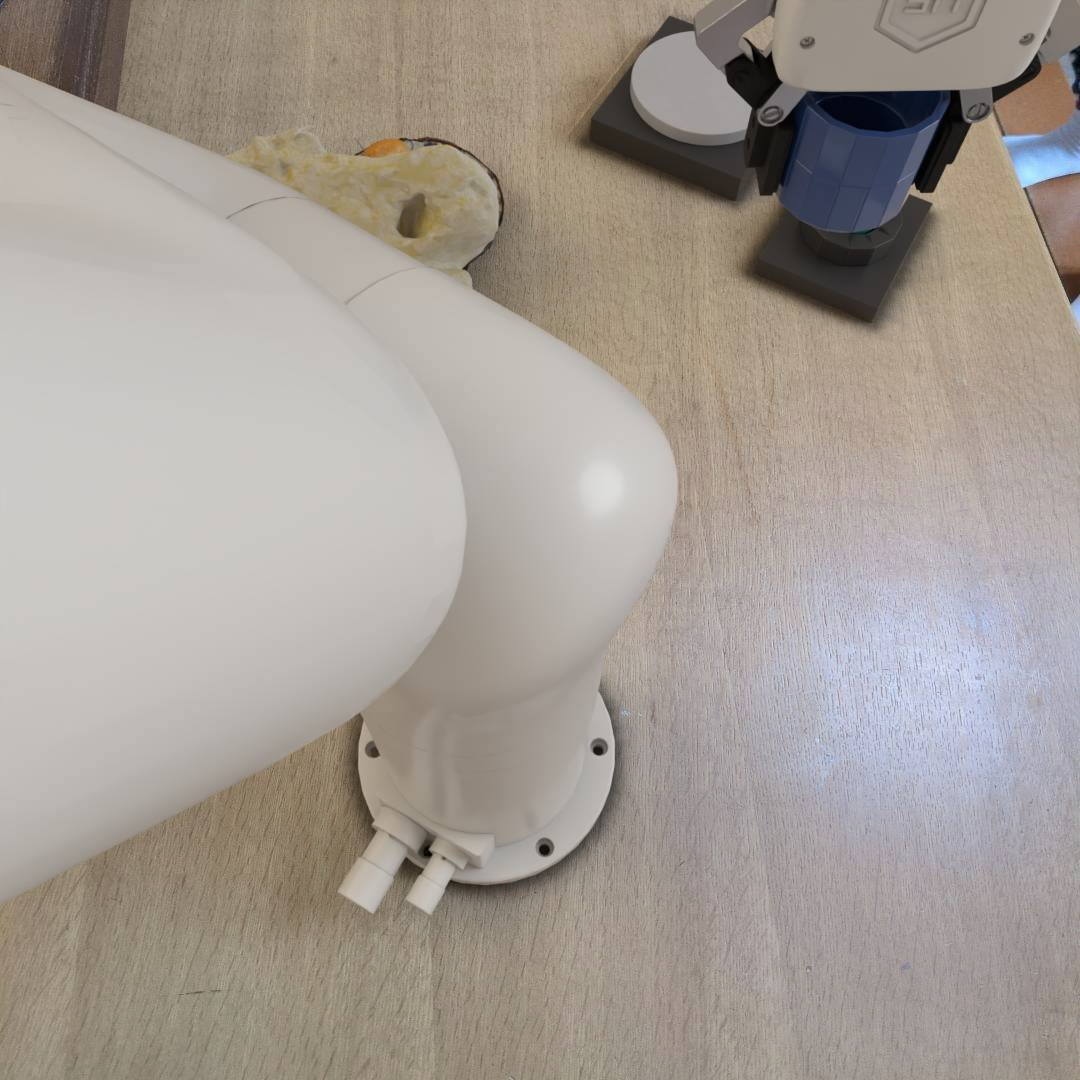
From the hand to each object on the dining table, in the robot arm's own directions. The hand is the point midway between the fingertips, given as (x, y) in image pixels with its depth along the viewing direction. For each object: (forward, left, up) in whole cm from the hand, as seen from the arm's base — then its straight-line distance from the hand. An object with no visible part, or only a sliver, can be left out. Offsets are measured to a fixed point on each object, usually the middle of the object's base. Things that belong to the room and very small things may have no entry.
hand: (841, 169), depth 48 cm
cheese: (-6, +25, -16) cm, 30 cm away
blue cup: (0, 0, -1) cm, 1 cm away
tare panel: (+12, 0, -16) cm, 20 cm away
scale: (+18, +13, -16) cm, 27 cm away
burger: (-1, +25, -15) cm, 29 cm away
